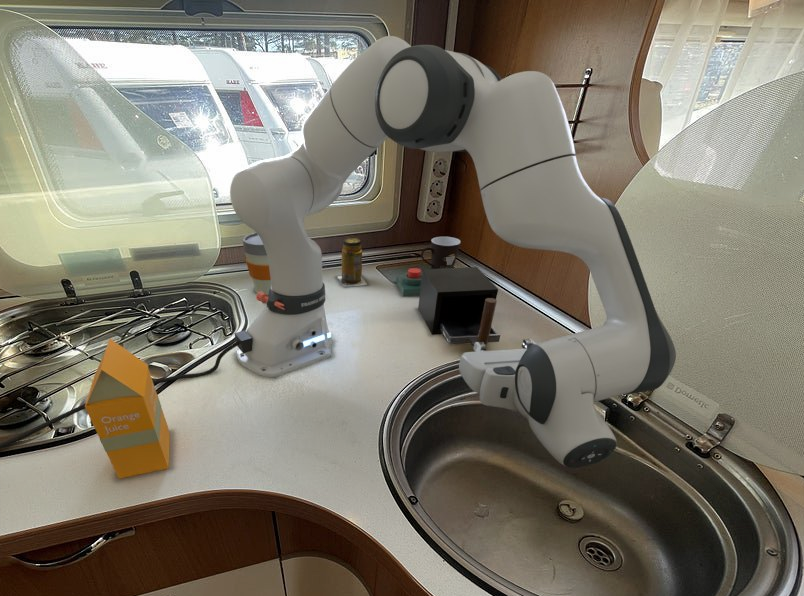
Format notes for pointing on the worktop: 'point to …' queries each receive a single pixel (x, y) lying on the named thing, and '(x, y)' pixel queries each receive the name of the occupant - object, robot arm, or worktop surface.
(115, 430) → the orange juice
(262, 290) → the reusable coffee cup
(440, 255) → the coffee mug
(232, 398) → the worktop surface
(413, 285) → the control box
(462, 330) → the tray
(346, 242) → the condiment
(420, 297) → the oven
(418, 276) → the stop button
